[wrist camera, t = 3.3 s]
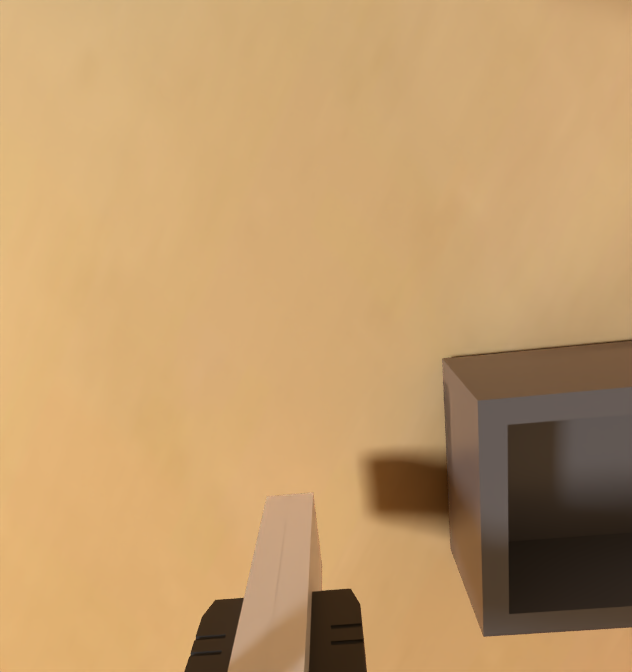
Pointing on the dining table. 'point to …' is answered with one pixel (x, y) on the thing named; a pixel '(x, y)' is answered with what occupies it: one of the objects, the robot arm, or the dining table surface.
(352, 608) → the robot arm
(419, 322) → the dining table surface
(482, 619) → the dark grey open box
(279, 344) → the dining table surface
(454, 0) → the dining table surface
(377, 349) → the dining table surface
